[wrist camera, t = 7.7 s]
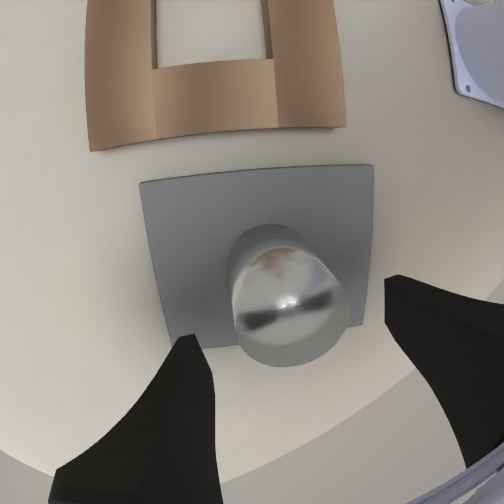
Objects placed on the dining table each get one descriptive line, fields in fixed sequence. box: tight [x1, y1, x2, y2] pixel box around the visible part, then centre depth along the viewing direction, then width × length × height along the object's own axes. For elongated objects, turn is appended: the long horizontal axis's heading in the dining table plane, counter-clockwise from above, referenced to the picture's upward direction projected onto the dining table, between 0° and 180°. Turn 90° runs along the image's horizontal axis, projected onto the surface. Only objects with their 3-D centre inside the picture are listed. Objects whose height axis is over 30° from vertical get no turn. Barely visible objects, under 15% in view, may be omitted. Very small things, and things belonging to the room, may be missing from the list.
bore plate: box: [85, 0, 346, 152], centre depth 11 cm, size 12×12×2 cm
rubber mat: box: [139, 164, 374, 349], centre depth 16 cm, size 12×10×1 cm
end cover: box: [227, 224, 350, 367], centre depth 14 cm, size 4×4×6 cm
